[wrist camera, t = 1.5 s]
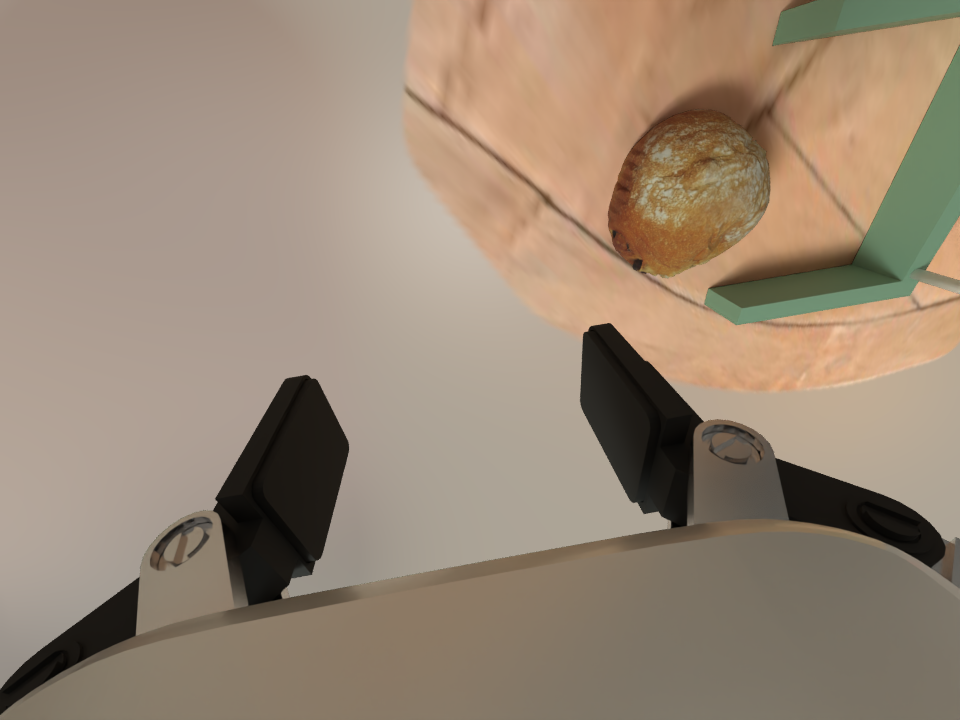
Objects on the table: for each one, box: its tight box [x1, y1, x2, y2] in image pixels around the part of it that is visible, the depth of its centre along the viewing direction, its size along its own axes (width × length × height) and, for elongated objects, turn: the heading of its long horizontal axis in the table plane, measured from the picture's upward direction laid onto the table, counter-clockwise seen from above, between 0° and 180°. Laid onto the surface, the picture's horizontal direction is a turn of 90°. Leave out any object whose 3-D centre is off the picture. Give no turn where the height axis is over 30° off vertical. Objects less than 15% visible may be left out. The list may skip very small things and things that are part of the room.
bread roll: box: [608, 109, 770, 278], centre depth 24 cm, size 10×10×8 cm
